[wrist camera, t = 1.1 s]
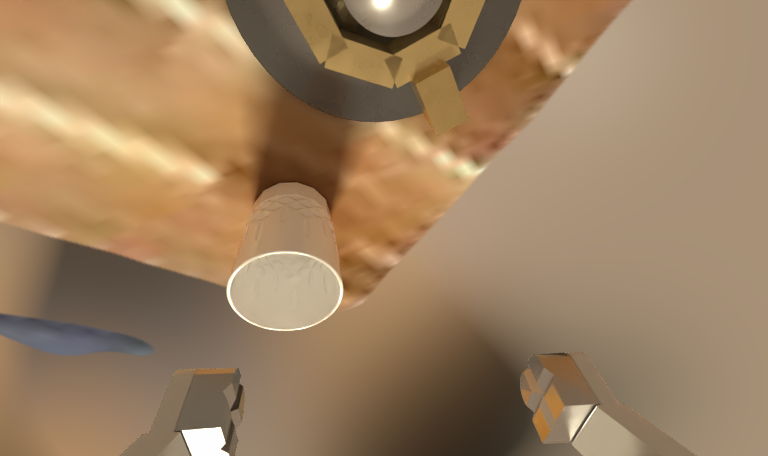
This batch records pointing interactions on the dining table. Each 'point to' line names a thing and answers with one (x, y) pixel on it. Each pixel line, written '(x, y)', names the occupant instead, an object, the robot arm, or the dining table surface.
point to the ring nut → (398, 54)
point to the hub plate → (370, 20)
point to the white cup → (287, 261)
